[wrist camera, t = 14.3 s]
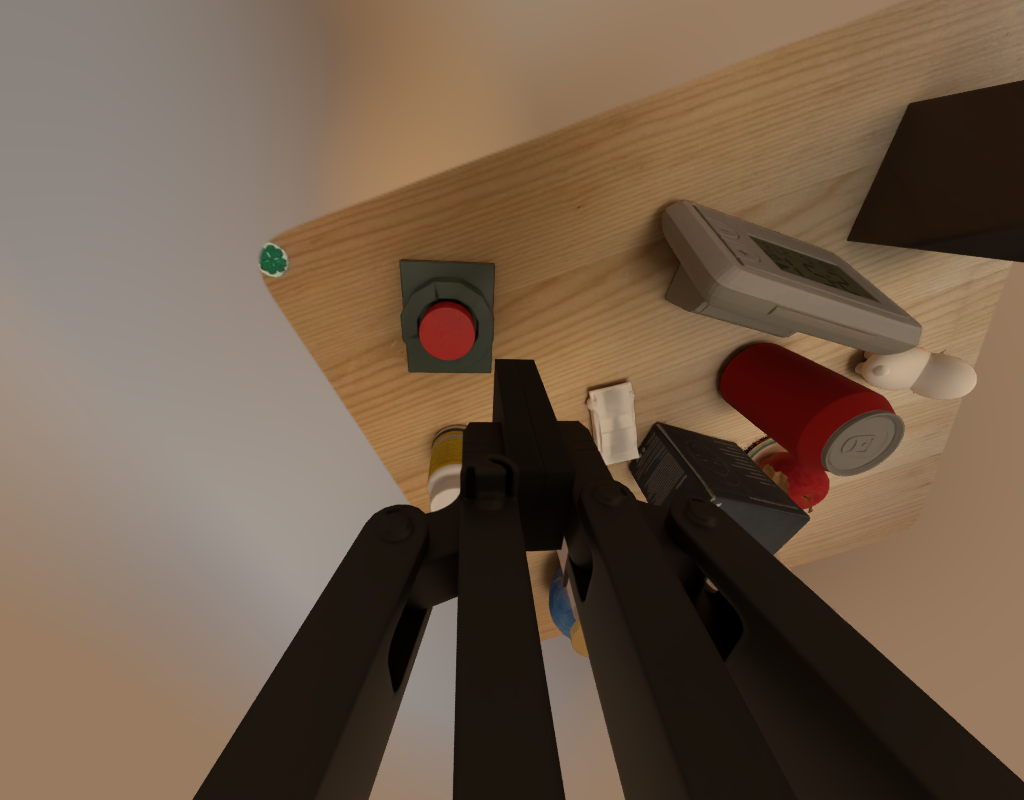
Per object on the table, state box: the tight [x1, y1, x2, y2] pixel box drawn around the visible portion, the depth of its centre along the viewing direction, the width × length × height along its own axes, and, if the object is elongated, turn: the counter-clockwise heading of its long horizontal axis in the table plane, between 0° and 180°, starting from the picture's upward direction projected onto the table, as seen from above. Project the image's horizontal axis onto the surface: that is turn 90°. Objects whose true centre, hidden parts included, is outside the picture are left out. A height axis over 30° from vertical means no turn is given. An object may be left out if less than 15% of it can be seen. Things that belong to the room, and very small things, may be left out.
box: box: [629, 423, 810, 555], centre depth 36 cm, size 11×7×10 cm, turn 70°
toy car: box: [587, 382, 639, 465], centre depth 36 cm, size 5×8×2 cm, turn 12°
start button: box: [419, 301, 475, 360], centre depth 28 cm, size 4×4×2 cm
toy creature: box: [855, 347, 977, 400], centre depth 34 cm, size 5×8×6 cm, turn 86°
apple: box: [747, 438, 829, 513], centre depth 39 cm, size 8×8×6 cm
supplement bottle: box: [428, 426, 466, 512], centre depth 33 cm, size 5×5×8 cm
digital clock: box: [662, 200, 922, 355], centre depth 26 cm, size 16×9×11 cm, turn 63°
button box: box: [399, 259, 495, 373], centre depth 29 cm, size 9×7×2 cm
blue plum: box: [549, 565, 576, 638], centre depth 43 cm, size 9×9×15 cm
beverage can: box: [720, 343, 905, 476], centre depth 31 cm, size 7×7×12 cm
